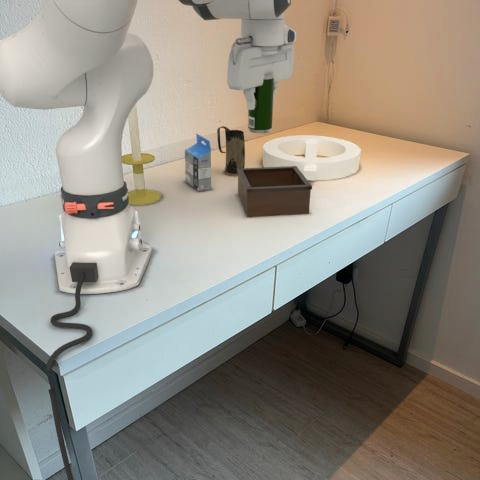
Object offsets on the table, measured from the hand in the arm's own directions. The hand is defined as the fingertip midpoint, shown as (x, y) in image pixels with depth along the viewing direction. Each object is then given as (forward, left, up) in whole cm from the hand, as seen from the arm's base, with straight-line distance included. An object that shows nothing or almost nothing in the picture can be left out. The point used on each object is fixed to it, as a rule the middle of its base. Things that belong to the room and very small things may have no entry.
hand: (260, 106), depth 114 cm
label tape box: (+15, +13, -23) cm, 30 cm away
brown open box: (0, -3, -23) cm, 23 cm away
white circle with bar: (+29, -21, -23) cm, 43 cm away
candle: (+8, +28, -23) cm, 37 cm away
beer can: (0, 0, -5) cm, 5 cm away
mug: (+25, +3, -23) cm, 34 cm away
